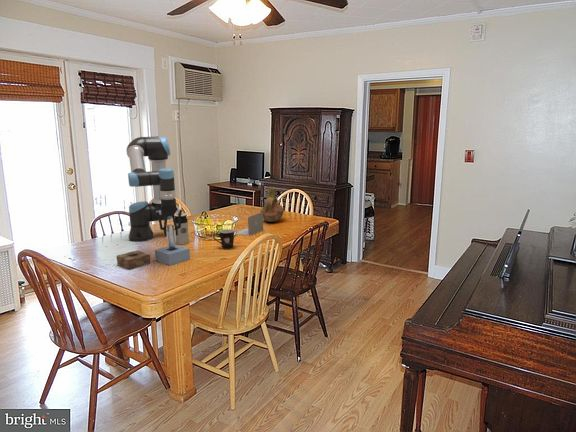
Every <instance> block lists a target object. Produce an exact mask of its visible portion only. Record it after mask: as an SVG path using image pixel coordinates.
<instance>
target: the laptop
mask: <svg viewBox="0 0 576 432" xmlns="http://www.w3.org/2000/svg"><path fill="white" fill-rule="evenodd" d="M260 212H261V211H260ZM260 212H259V213H255V214H253V215H250V216H248V217H247V227H246V228H244V229H241V230H239V231H236V232H237V233H236V234H235V235H238V236H246V237H249V236H251V235H254V234H257V233H259V232H261V231H263V230H264V219H263V212H261V213H260Z"/></svg>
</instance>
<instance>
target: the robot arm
mask: <svg viewBox="0 0 576 432" xmlns="http://www.w3.org/2000/svg"><path fill="white" fill-rule="evenodd" d="M167 138H168V137H165V136H139V137H136V138H133V139H132V140H131V141H130V142H129V143H128V145H127V147H126V155H127V157H128V159H129V165H130V172H128V173H127V176H128V177H127V178H128V186H129V187H133V188H135V187H136V188H137V187H149V186H150V187H151V186H152V190H153V191H152V193H153V198H152V199H151V203H149V202H148V201H147V200H145V201H144V200H143V201H137V202H133V203H131V204H130V205H129V206H128V211H129V212H128V214H129V223H130V224H129V225H130V229H129V234H128V240H129V241H131V242H145V241H149V240H153V238H154V237H155V236H154V232H153V230H152V227H151V225H150V224H151V222H158V225H159V229H160V230H161V231H163V236H164V237H166V243H167V244H169V239H168V229H167V225H168V221H169V220H171V219H172V222H173V226H174V240H175V243H176V235H178V229H179V228H181V213H183V210H182V209H180V208H178V207H177V199H176V197H177V196H176V187H175V185H176V184H175V171H174V169H173V168H170V167H169V168H168V167H167V165H166V163H167V162H166V161H167V160H168V159H169V157H170V156H171V149H170V145H169V141H168V139H167ZM144 157H147V160H148V161H150V165H151V166H150V167H151V171H147V170H146V169H147V168H146V165H145V160H144ZM175 214H178V226H177V224H176V220H175V216H174V215H175ZM162 221H163V222H164V223H163V222H162Z"/></svg>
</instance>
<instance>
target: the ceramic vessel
mask: <svg viewBox="0 0 576 432" xmlns="http://www.w3.org/2000/svg"><path fill="white" fill-rule="evenodd" d="M266 191H267V192H266V195H267V198H266V199H265V202H264V206H263V207H262V208H261V209H260V211H259V213H261V212H263V221H265V222H268V223H276V222H278V221H280V219H282V217H283V215H284V214H283V213H284V212H285V211H284V206H282V204H279V203H278V201H279V199H278V197H277V188H275V187H273V188H267V190H266Z"/></svg>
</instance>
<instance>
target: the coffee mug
mask: <svg viewBox="0 0 576 432" xmlns="http://www.w3.org/2000/svg"><path fill="white" fill-rule="evenodd" d="M234 233H235V230H234V229H230V228H228V229H220V230H219V232H218V233H214V234H213V235H212V236H213V237H212V238H213V240H215V241H216V242H218V243H219V244H221V248H222V249H223V250H230V249H234V238H235V234H234ZM216 235H217V236H219V238H220V240H218V239H216V238H215V236H216Z"/></svg>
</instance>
